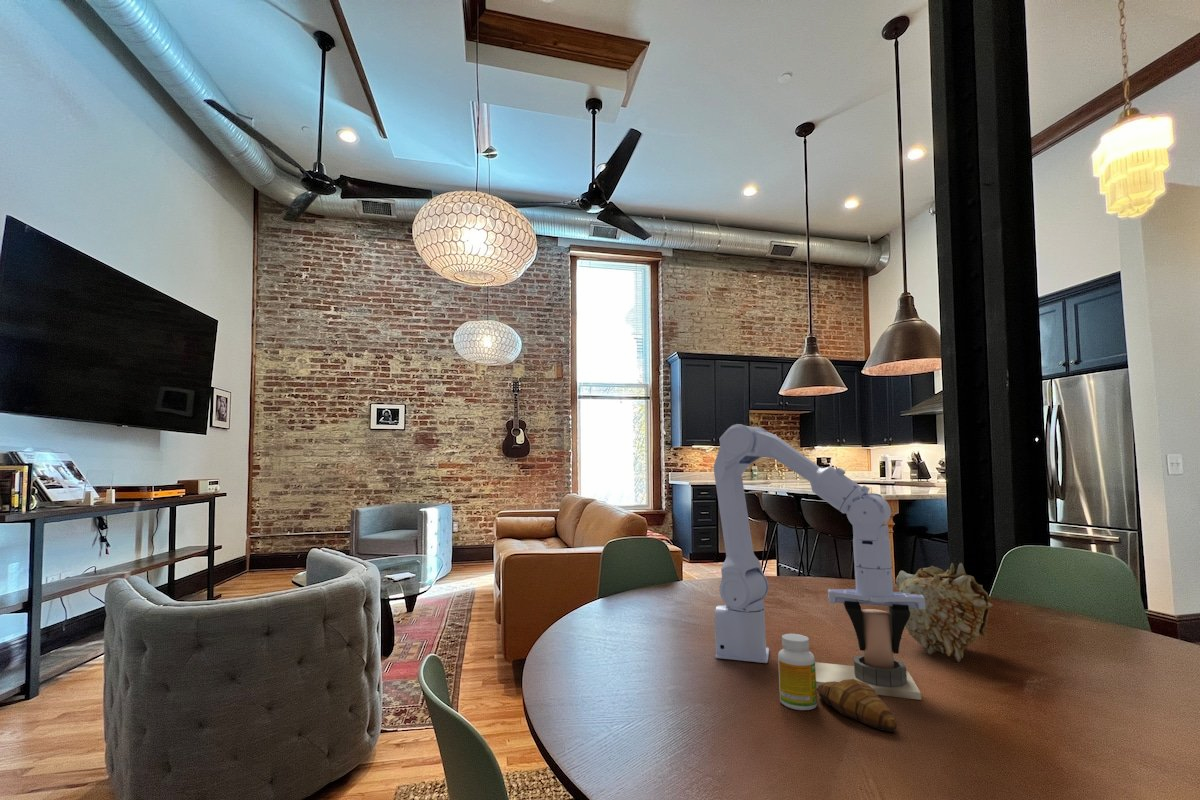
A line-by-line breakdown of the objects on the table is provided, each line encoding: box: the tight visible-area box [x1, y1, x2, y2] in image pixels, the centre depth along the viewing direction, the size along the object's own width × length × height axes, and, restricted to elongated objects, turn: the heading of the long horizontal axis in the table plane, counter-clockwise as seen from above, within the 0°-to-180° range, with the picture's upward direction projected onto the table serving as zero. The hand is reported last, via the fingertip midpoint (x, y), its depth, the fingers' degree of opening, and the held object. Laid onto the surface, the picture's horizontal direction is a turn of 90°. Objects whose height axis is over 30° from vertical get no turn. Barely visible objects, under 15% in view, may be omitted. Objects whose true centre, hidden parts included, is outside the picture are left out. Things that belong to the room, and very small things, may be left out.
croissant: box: [817, 679, 897, 732], centre depth 81 cm, size 14×7×5 cm, turn 21°
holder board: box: [815, 654, 922, 701], centre depth 93 cm, size 20×10×4 cm, turn 71°
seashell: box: [895, 562, 994, 663], centre depth 108 cm, size 18×18×15 cm
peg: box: [861, 608, 895, 669], centre depth 92 cm, size 4×4×9 cm
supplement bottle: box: [777, 633, 818, 711], centre depth 84 cm, size 5×5×10 cm
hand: (878, 650), depth 92 cm, fingers closed on peg, 4 cm apart
